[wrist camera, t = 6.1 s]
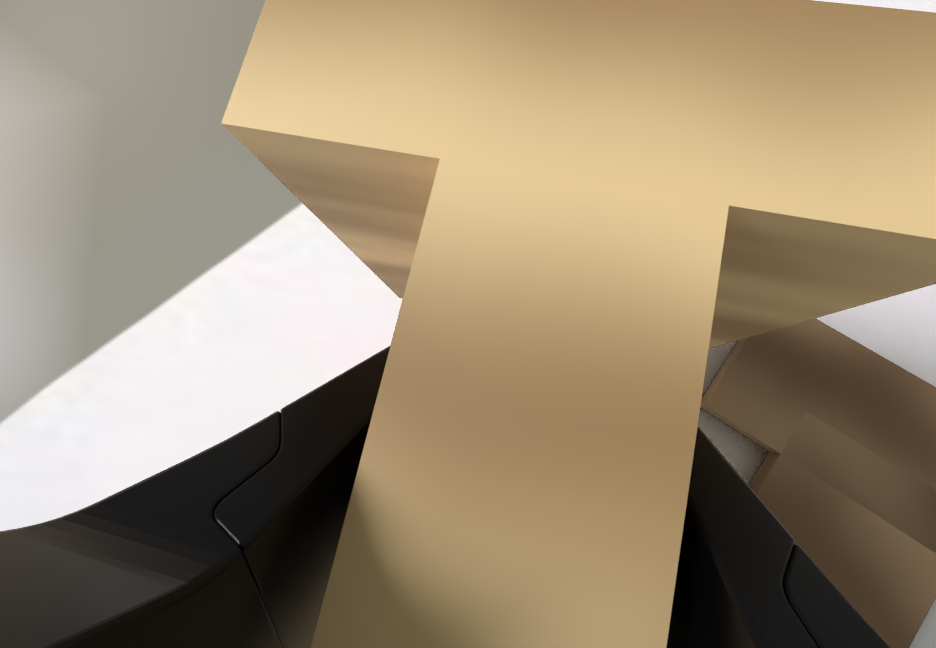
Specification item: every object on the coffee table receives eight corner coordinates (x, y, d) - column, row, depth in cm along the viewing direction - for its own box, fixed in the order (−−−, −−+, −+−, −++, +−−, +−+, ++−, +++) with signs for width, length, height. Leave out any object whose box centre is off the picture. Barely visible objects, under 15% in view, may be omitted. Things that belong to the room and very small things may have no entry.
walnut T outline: (910, 828, 15) (932, 852, 14) (586, 581, 17) (590, 589, 17) (1086, 486, 16) (1115, 490, 16) (763, 299, 19) (774, 295, 18)
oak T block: (637, 645, 13) (1015, 1357, 3) (331, 553, 14) (-46, 866, 5) (693, 272, 15) (1038, 22, 5) (419, 222, 16) (284, -52, 7)
